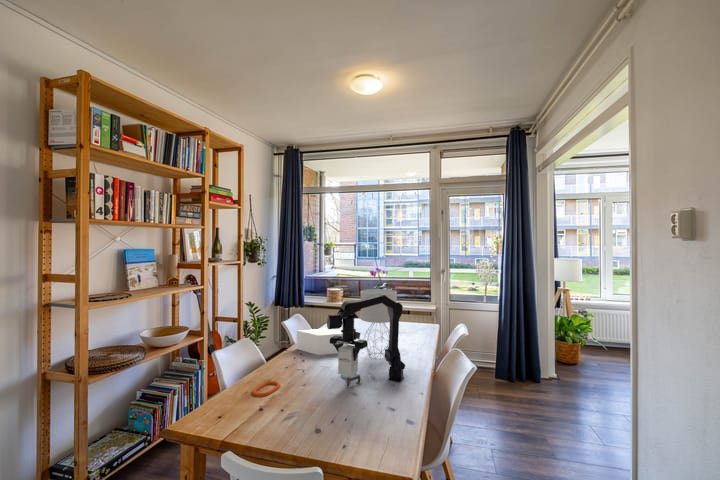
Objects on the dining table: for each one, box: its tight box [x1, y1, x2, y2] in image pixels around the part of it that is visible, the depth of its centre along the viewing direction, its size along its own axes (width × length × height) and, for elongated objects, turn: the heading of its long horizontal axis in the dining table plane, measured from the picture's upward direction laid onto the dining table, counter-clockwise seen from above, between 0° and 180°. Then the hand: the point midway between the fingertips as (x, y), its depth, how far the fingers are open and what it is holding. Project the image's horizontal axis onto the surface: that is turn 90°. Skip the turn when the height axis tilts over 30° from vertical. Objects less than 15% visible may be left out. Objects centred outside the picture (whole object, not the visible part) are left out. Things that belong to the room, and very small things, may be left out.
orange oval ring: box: [251, 380, 281, 398], centre depth 154 cm, size 10×2×15 cm
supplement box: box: [337, 344, 359, 377], centre depth 158 cm, size 7×7×13 cm
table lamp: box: [360, 288, 398, 360], centre depth 201 cm, size 22×22×40 cm
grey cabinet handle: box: [345, 373, 362, 389], centre depth 160 cm, size 8×9×4 cm
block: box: [296, 327, 350, 356], centre depth 211 cm, size 18×35×12 cm, turn 80°
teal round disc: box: [340, 372, 358, 380], centre depth 170 cm, size 9×9×1 cm
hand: (348, 359), depth 158 cm, fingers closed on supplement box, 7 cm apart
